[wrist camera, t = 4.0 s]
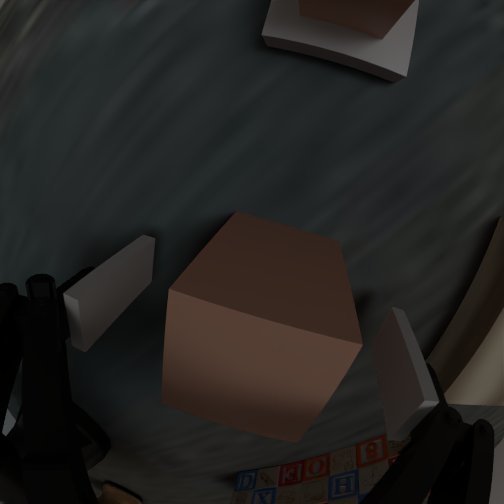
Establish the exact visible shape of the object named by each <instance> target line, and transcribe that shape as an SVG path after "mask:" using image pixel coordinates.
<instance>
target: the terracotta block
mask: <svg viewBox="0 0 504 504" xmlns="http://www.w3.org/2000/svg"><path fill="white" fill-rule="evenodd" d="M362 346H363V342H362V337H361V332H360V327H359V323H358V318H357V313H356V309H355V304H354V300H353V296H352V291H351V287H350V283H349V279H348V275H347V271H346V267H345V263H344V259H343V255H342V251H341V248H340V244H339V241H336V240H333V239H330V238H327V237H323V236H320V235H317V234H313V233H310V232H307V231H303V230H300V229H296V228H293V227H290V226H286V225H283V224H279V223H276V222H272V221H269V220H265V219H262V218H258V217H255V216H251V215H247V214H244V213H240V212H237V211H236V212H235V213H234V214H233V216H232V217H231V218H230V219H229V220H228V221H227V222H226V223H225V224H224V226H223V227H222V228H221V229H220V230H219V231H218V232H217V234H216V235H215V236H214V237H213V238H212V239H211V240H210V241H209V243H208V244H207V245H206V246H205V247H204V248H203V250H202V251H201V252H200V253H199V254H198V255H197V256H196V258H195V259H194V260H193V261H192V262H191V263H190V265H189V266H188V267H187V268H186V269H185V270H184V272H183V273H182V274H181V275H180V276H179V277H178V279H177V280H176V281H175V282H174V283H173V285H172V286H171V287H170V288H169V293H168V303H167V314H166V326H165V340H164V355H163V374H162V402H161V404H164V405H166V406H169V407H172V408H174V409H177V410H180V411H182V412H185V413H188V414H191V415H194V416H197V417H200V418H203V419H206V420H209V421H212V422H215V423H218V424H222V425H225V426H228V427H232V428H235V429H239V430H243V431H246V432H250V433H254V434H258V435H262V436H267V437H271V438H276V439H280V440H285V441H290V442H295V443H298V442H299V441H300V439H301V438H302V437H303V435H304V434H305V433H306V431H307V430H308V429H309V427H310V426H311V425H312V423H313V422H314V420H315V419H316V418H317V416H318V415H319V413H320V412H321V410H322V409H323V408H324V406H325V405H326V403H327V402H328V400H329V399H330V397H331V396H332V394H333V393H334V391H335V390H336V388H337V387H338V385H339V384H340V382H341V380H342V379H343V377H344V376H345V374H346V372H347V371H348V369H349V368H350V366H351V364H352V363H353V361H354V359H355V358H356V356H357V354H358V353H359V351H360V349H361V347H362Z"/></svg>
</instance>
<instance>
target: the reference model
mask: <svg viewBox="0 0 504 504" xmlns="http://www.w3.org/2000/svg"><path fill="white" fill-rule="evenodd" d="M418 3H419V0H271V4H270V7H269V10H268V14H267V17H266V21H265V24H264V28H263V31H262V37H263V39H264V41H265V43H266V45H267V46H268V47H274V48H279V49H284V50H289V51H293V52H298V53H302V54H306V55H310V56H314V57H318V58H322V59H325V60H329V61H332V62H336V63H339V64H343V65H346V66H349V67H352V68H355V69H358V70H361V71H364V72H367V73H370V74H372V75H375V76H378V77H381V78H383V79H386V80H388V81H391V82H393V83H396V82H398V81H400V80H401V79H403V78H405V77H406V76H407V71H408V66H409V61H410V56H411V50H412V45H413V39H414V32H415V26H416V19H417V11H418Z"/></svg>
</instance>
